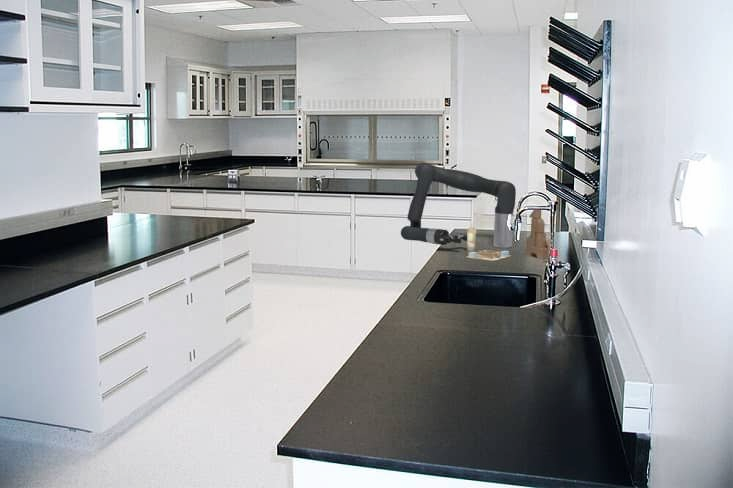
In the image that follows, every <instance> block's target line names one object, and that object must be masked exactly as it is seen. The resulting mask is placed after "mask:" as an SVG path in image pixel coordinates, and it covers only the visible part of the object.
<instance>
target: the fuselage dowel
mask: <svg viewBox="0 0 733 488" xmlns="http://www.w3.org/2000/svg"><path fill="white" fill-rule="evenodd" d="M466 229H467V231H466V232H467V233H466V236H467V241H466V254H468V255H469V253H470V252H476V238H477V228H476V227H467V228H466Z"/></svg>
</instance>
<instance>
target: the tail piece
mask: <svg viewBox="0 0 733 488" xmlns="http://www.w3.org/2000/svg"><path fill="white" fill-rule="evenodd" d="M477 252H478V251H475V252H470V253H469V254H468V256H469V257H471V258H470V259H476V258H475V257H477ZM469 257H468V258H469Z"/></svg>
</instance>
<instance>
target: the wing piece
mask: <svg viewBox="0 0 733 488" xmlns="http://www.w3.org/2000/svg"><path fill="white" fill-rule="evenodd" d="M500 252H501V257H506V256H509V255H510V251H509V250H502V251H500ZM506 258H507V257H506Z"/></svg>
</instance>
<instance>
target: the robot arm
mask: <svg viewBox="0 0 733 488" xmlns="http://www.w3.org/2000/svg"><path fill="white" fill-rule="evenodd" d="M414 174H415V176H416V178H417V182H416V189H415V190H414V191H415V192H414V195H413V197H412V199H411V202H410V205H409V207H408V208H409V209H408V213H407V220H408V221H409V223H410V224H409V225H405V226H403V227H402V228H401V230H400V236H401V238H402V239H403V240H406V241H415V242H416V241H418V242H423V243H429V244H434V245H440V246H441V245H442V246H446V245H447V244H462V241H463V242H465V241H466V242H467V234H460V233H450V232H449V231H448V230H447V229H443V228H430V227H429V228H428V227H422V217H423V214H424V209H425V205H426V200H427V197H428V193H429V191H430V187H431V185H432V182H435V183H440V184H443V185H445V186H448V187H451V188H453V189H457V190H461V191H465V192H470V193H471V192H472V193H482V194H487V195H490V196H493V197H496V198H497V199H496V206H495V207H494V223H493V247H496V248H501V249H502V248H503V249H504V248H505V249H507V248H508V249H509V248H512V246H513V234H514V233H513V232H514V230H513V231H510V230H509V228H508V226H507V220H508V215H509V214H511V215H513V216H514V209H515V207H516V206H515V205H516V196H517V188H516V186H515V185H514V184H513V183H512V182H510V181H507V180H496V179H489V178H485V177H483V176H480V175H478V174H474V173H472V172H468V171H463V170H458V169H452V168H451V169H450V168H443V167H439V166H436V165H433V164H431V163H429V162H424V161H423V162H420V163H418V164H417V165H416V166H415V169H414Z"/></svg>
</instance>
